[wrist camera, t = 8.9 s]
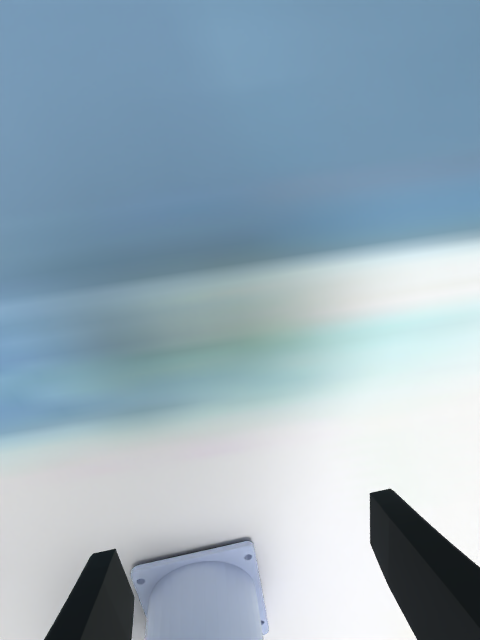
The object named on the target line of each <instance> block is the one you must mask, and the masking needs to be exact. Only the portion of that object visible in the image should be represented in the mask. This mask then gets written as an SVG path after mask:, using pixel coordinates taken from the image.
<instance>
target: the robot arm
mask: <svg viewBox="0 0 480 640" xmlns="http://www.w3.org/2000/svg"><path fill="white" fill-rule="evenodd" d="M370 544H371V546H372V549H373V551H374V553H375V556H376V558H377V561H378V563H379V565H380V568H381V570H382V572H383V575H384V577H385V579H386V582H387V584H388V586H389V588H390V590H391V592H392V594H393V595H394V597H395V599H396V601H397V603H398V605H399V607H400V609H401V610H402V612H403V614H404V616H405V618H406V620H407V622H408V623H409V625H410V627H411V629H412V631H413V633H414V635H415V636H416V638H417V640H480V567H479V566H477V565H476V564H475V563H474V562H473V561H471V560H470V559H469V558H468V557H467V556H466V555H464V554H463V553H462V552H461V551H460V550H459V549H457V548H456V547H455V546H454V545H453V544H451V543H450V542H449V541H448V540H447V539H446V538H445V537H443V536H442V535H441V534H440V533H439V532H438V531H437V530H436V529H434V528H433V527H432V526H431V525H430V524H429V523H428V522H427V521H426V520H424V519H423V518H422V517H421V516H420V515H419V514H418V513H417V512H416V511H415V510H414V509H412V508H411V507H410V506H409V505H408V504H407V503H406V502H405V501H404V500H403V499H402V498H401V497H400V496H399V495H397V494H396V493H395V492H394V491H393V490H392V489H386V490H382V491H377V492H373V493H370ZM131 578H132V581H133V584H134V586H135V589H136V592H137V594H138V597H139V599H140V602H141V605H142V607H143V610H144V613H145V615H146V618H147V623H146V632H145V640H264V639H263V635H265V634H267V633H268V631H269V626H268V621H267V615H266V610H265V604H264V599H263V593H262V588H261V582H260V576H259V571H258V565H257V560H256V554H255V549H254V544H253V543H252V542H250V541H244V542H240V543H235V544H231V545H227V546H222V547H218V548H213V549H209V550H204V551H200V552H195V553H191V554H186V555H182V556H177V557H173V558H168V559H164V560H159V561H155V562H150V563H146V564H141V565H137V566H135V567H134V568H133V569H132V572H131ZM133 611H134V595H133V592H132V590H131V587H130V585H129V582H128V580H127V577H126V574H125V572H124V569H123V567H122V564H121V561H120V559H119V556H118V554H117V551H116V549H112V550H108V551H103V552H99V553H94V554H92V556H91V557H90V558H89V560H88V562H87V564H86V566H85V568H84V569H83V571H82V573H81V575H80V577H79V579H78V580H77V582H76V584H75V586H74V588H73V590H72V591H71V593H70V595H69V597H68V599H67V601H66V602H65V604H64V606H63V608H62V609H61V611H60V613H59V615H58V617H57V618H56V620H55V622H54V624H53V625H52V627H51V629H50V630H49V632H48V634H47V636H46V637H45V639H44V640H131V638H132V626H133Z"/></svg>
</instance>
